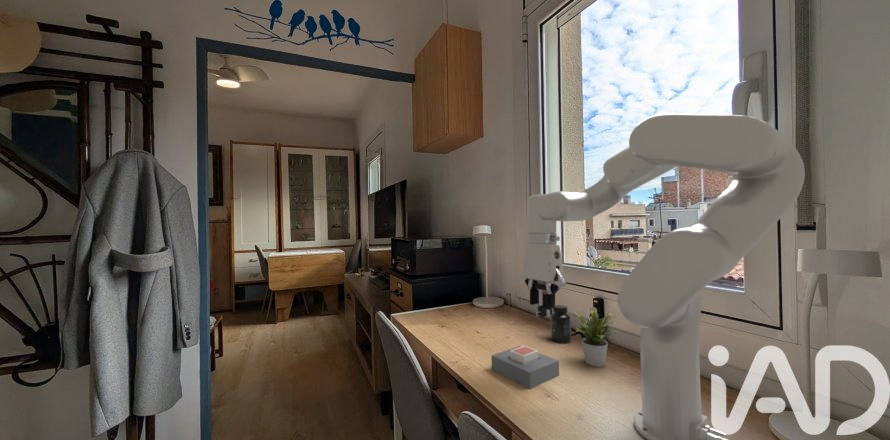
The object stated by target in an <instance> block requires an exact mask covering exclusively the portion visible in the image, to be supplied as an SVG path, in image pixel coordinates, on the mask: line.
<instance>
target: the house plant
mask: <svg viewBox="0 0 890 440" xmlns="http://www.w3.org/2000/svg"><path fill="white" fill-rule="evenodd" d="M588 310H589V312H590V320H589V321H588V322H587V323H586V320H585V319H584V318H583V317H582V315H581V314H579V313H578V312H576V311H575V310H572V312H574V313H575V314H576V315H577V316H578V317H577V316H575V318H576V319H577V320H579V322H580V328H579V327H575V331H574V332H580V333H581V334H582V335H583V336H584V338H583V339H581V345H582V348H583V354H584V360H585V363H586V364H587V365H588V366H589V365H590V366H591V367H596V368H597V367H598V368H600V367H604V366H605V364H606V359H607V352H608V345H609V344H608V343H609V342H607V341H606V340H605V339H606V338H607V337H609V336H611V335H612V334H615V335H617V333H619V331H618V330H617V331H612V330H606V329H607V327H608V326H609V325H611V324H614V323H615V324H616V323H617V322H616V321H612V322H609V321H611V320H612V319H615V318H617V316H612V314H614V311H613V312H610V313H608V314H605V316H604V317H603V318H599V313H598V309H597V308H596V307H595V308H594V309H592V310H591V309H590V308H588ZM607 322H609V323H607ZM607 333H608V334H607ZM605 334H607V335H605Z"/></svg>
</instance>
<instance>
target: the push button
mask: <svg viewBox="0 0 890 440" xmlns="http://www.w3.org/2000/svg"><path fill="white" fill-rule="evenodd" d="M534 284H535V288H536V289H537V290H539V301H538V304H537V306H536V311H535V312H534V313H535V314H536V315H534V317H539V318H542V319H543V318H544V317H550V316H551V315H552V313H553V308H551V309H546V308H545V294H548V293H547V289H546V284H545V282H541V281H535V282H534ZM551 288H552V284H551Z"/></svg>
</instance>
